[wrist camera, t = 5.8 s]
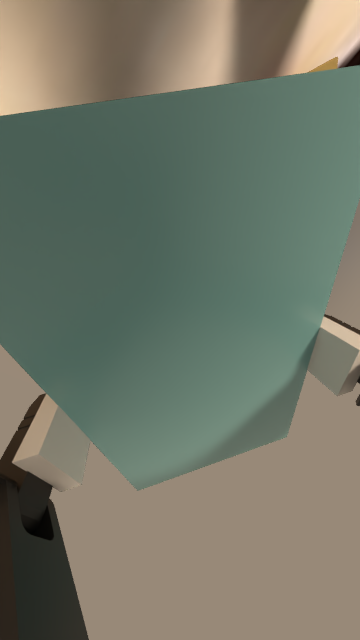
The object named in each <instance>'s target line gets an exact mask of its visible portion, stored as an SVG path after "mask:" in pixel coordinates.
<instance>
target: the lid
mask: <svg viewBox="0 0 360 640" xmlns="http://www.w3.org/2000/svg"><path fill="white" fill-rule="evenodd" d="M359 199H360V66H352V67H345V68H338V69H331V70H324V71H317V72H310V73H303V74H296V75H288V76H281V77H274V78H267V79H260V80H253V81H246V82H239V83H232V84H224V85H217V86H210V87H203V88H196V89H189V90H182V91H175V92H168V93H160V94H153V95H146V96H139V97H132V98H125V99H118V100H111V101H104V102H97V103H89V104H82V105H75V106H68V107H61V108H54V109H47V110H40V111H33V112H25V113H18V114H11V115H4V116H0V344H1V345H2V346H3V348H5V350H6V351H7V352H8V353H9V354H10V355H11V356H12V357H13V358H14V359H15V360H16V361H17V362H18V364H19V365H20V366H21V367H22V368H23V369H24V370H25V371H26V372H27V373H28V374H29V375H30V376H31V377H32V378H33V379H34V381H35V382H36V383H37V384H38V385H39V386H40V387H41V388H42V389H43V390H44V391H45V392H46V393H47V394H48V396H49V397H50V398H51V399H52V400H53V401H54V402H55V403H56V404H57V405H58V406H59V407H60V408H61V409H62V410H63V411H64V412H65V413H66V414H67V415H68V416H69V418H70V419H71V420H72V421H73V422H74V423H75V424H76V425H77V426H78V427H79V428H80V429H81V430H82V431H83V432H84V434H85V435H86V436H87V437H88V438H89V439H90V440H91V441H92V442H93V444H95V445H96V447H97V448H98V449H99V450H100V451H101V452H102V453H103V454H104V455H105V456H106V457H107V458H108V459H109V461H110V462H111V463H112V464H113V465H114V466H115V467H116V468H117V469H118V470H119V471H120V472H121V473H122V474H123V475H124V476H125V478H126V479H127V480H128V481H129V482H130V483H131V484H132V485H133V486H134V487H135V488H136V489H137V490H141V489H144V488H147V487H150V486H153V485H155V484H158V483H161V482H163V481H166V480H169V479H172V478H175V477H177V476H180V475H183V474H186V473H188V472H191V471H194V470H197V469H200V468H202V467H205V466H208V465H211V464H213V463H216V462H219V461H222V460H224V459H227V458H230V457H233V456H236V455H238V454H241V453H244V452H247V451H249V450H252V449H255V448H258V447H260V446H263V445H266V444H269V443H272V442H274V441H277V440H280V439H283V438H285V437H287V434H288V431H289V428H290V425H291V421H292V418H293V414H294V412H295V408H296V405H297V401H298V399H299V395H300V392H301V389H302V385H303V382H304V379H305V376H306V372H307V368H308V365H309V362H310V359H311V355H312V352H313V349H314V345H315V342H316V339H317V336H318V332H319V329H320V326H321V323H322V320H323V317H324V313H325V310H326V307H327V303H328V300H329V297H330V294H331V290H332V287H333V284H334V280H335V277H336V274H337V271H338V267H339V264H340V261H341V257H342V254H343V251H344V247H345V245H346V241H347V238H348V234H349V231H350V228H351V225H352V222H353V218H354V215H355V212H356V208H357V205H358V202H359Z"/></svg>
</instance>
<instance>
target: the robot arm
mask: <svg viewBox="0 0 360 640" xmlns="http://www.w3.org/2000/svg"><path fill="white" fill-rule="evenodd" d="M307 370H308V371H309V372H310V373H311V374H313V375H314V376H315V377H316V378H317V379H318V380H319V381H320V382H322V383H323V384H324V385H325V386H326V387H328V389H330V390H331V391H332V392H333V393H334V394H335V395H337V396H339V395H342V394H345V393H348V392H351V391H352V390H353V388H354V387H355V385H356V383H357V382H358V383H360V330H358V329H356V328H354V327H351V326H350V325H348V324H346V323H342V321H340V320H338V319H336V318H334V317H332V316H328V315H325V314H324V317H323V320H322V323H321V326H320V329H319V332H318V336H317V339H316V342H315V345H314V349H313V352H312V355H311V359H310V362H309V365H308V368H307ZM356 405H357V406H360V395H359V397H358V398H357V400H356ZM89 445H90V439H89V438H88V437H87V436H86V435H85V434H84V432H83V431H82V430H81V429H80V428H79V427H78V426H77V425H76V424H75V423H74V422H73V421H72V420H71V419H70V418H69V416H68V415H67V414H66V413H65V412H64V411H63V410H62V409H61V408H60V407H59V406H58V405H57V404H56V403H55V402H54V401H53V400H52V399H51V398H50V397H49V396H48V394H47V393H46V394H42V395H40V396H39V397H38V398H37V399H36V400H35V401H34V402H33V404H32V405H31V406H30V407H29V409H28V411H27V413H26V414H25V416H24V420H23V421H22V422H21V424H20V425H19V427H18V431H16V433H15V434H14V436H13V438H12V440H11V441H10V443H9V445H8V447H7V449H6V450H5V452H4V454H3V456H2V458H1V460H0V640H89V639H88V635H87V631H86V627H85V623H84V620H83V615H82V611H81V608H80V604H79V600H78V596H77V592H76V588H75V584H74V581H73V577H72V573H71V569H70V565H69V561H68V557H67V554H66V550H65V546H64V542H63V538H62V534H61V530H60V527H59V523H58V519H57V515H56V511H55V507H54V504H53V502H52V501H51V500H50V499H49V497H50V494H51V490H52V487H53V488H55V489H57V490H58V491H60V492H63V491H66V490H68V489H71V488H74V487H77V486H80V485H82V480H83V475H84V470H85V465H86V460H87V455H88V450H89Z"/></svg>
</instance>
